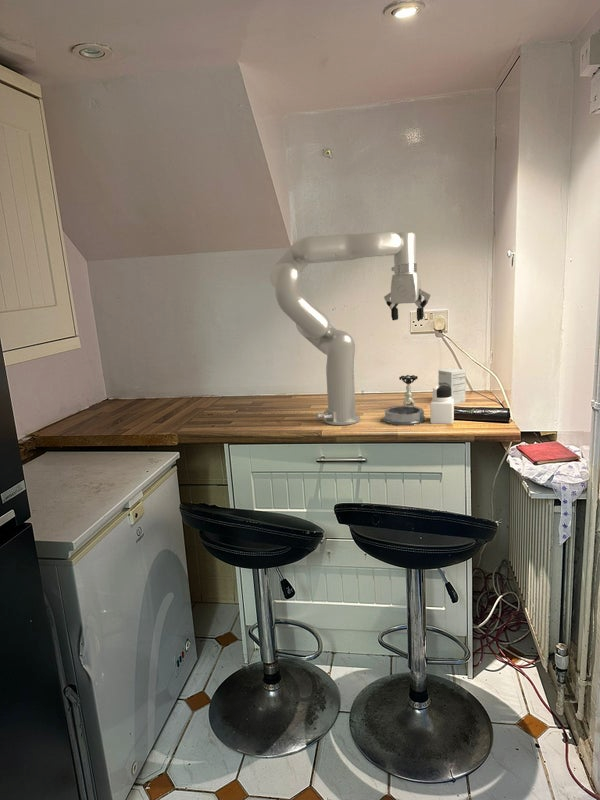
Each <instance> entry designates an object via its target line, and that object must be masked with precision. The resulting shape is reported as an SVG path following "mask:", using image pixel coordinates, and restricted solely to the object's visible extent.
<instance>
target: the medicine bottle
mask: <svg viewBox="0 0 600 800" xmlns="http://www.w3.org/2000/svg"><path fill="white" fill-rule="evenodd" d="M429 408H430V411H429V412H430V414H429V415H430V424H434V425H435V424H437V425H438V424H440V425H441V424H442V425H453V422H454V420H455V417H454V416H455V415H454V414H455V412H454V411H455V405H454V399H451V387H449V386H445V385H440V386H439V385H436V386H434V387H433V388H432V398H431V401H430V407H429Z"/></svg>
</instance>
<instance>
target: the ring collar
mask: <svg viewBox="0 0 600 800" xmlns="http://www.w3.org/2000/svg"><path fill="white" fill-rule="evenodd" d="M425 421H426V416H425V411H424V408H421V407H418V406H415V405H414V406H404V405H400V406H398V405H396V406H393V407H392V406H391V407H388V408H387V409H384V417H383V422H384V423H385V424H387V425H391V424H392V425H391V426H398V425H409V426H415V425H414V424H417V425H421V424H423V423H425ZM420 423H421V424H420Z"/></svg>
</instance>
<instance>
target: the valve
mask: <svg viewBox="0 0 600 800" xmlns="http://www.w3.org/2000/svg"><path fill="white" fill-rule="evenodd" d="M399 380H400V381H401V382H403V383H405V384H406V386H405V388H406V389H405V390H406V392H405V393H404V398H403V405H402V406H414V407H415V405H416V404H415V400H414V398H413V396H414V393H413V392H412V391H411V390H412V386H411V384H413V383H414V382H415V381H416V380H418V375H414V374H412V375H409V374H406V375H401V376H399ZM409 402H410V403H409Z"/></svg>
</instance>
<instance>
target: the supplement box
mask: <svg viewBox="0 0 600 800" xmlns="http://www.w3.org/2000/svg"><path fill="white" fill-rule="evenodd" d="M466 373H467V371H466V369H461V368H455V367H448V368H443V369H438V386H440V385H445V386H449V387H451V399H454V406H455V405H458V404H459V403H460V404H463V402H464V403H466V384H467V383H466V379H467V378H466ZM460 404H459V405H460Z"/></svg>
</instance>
